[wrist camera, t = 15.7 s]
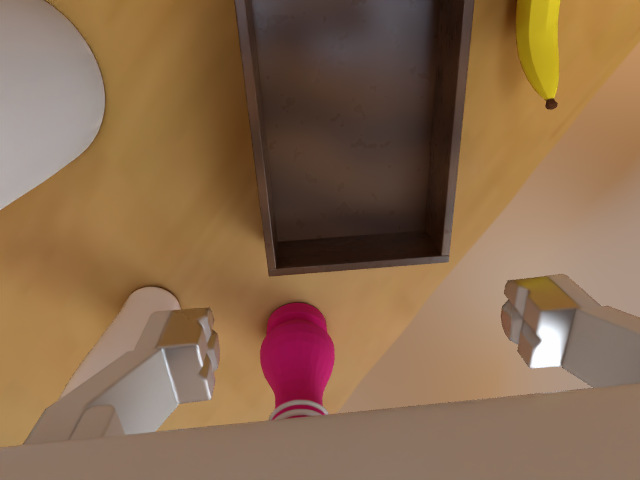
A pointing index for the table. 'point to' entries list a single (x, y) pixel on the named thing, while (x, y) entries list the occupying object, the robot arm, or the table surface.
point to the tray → (355, 128)
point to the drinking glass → (122, 332)
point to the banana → (539, 45)
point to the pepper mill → (297, 360)
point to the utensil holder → (43, 95)
